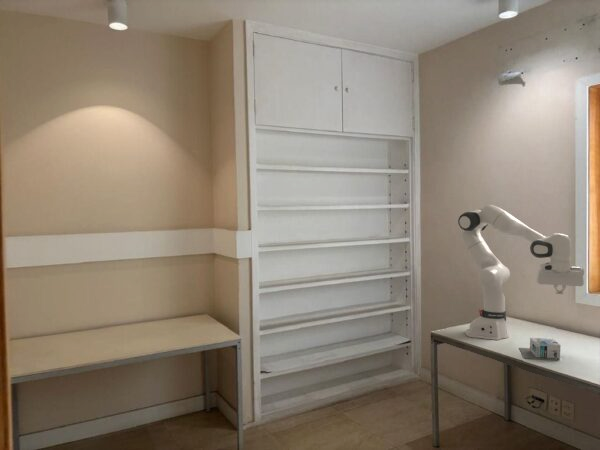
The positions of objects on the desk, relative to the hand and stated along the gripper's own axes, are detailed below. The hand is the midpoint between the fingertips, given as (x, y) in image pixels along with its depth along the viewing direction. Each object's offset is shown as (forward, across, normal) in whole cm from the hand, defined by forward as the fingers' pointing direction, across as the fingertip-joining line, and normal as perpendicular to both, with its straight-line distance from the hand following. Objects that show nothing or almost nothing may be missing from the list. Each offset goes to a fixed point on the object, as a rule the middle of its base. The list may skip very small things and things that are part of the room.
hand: (559, 293), depth 233 cm
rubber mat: (+28, +11, +10) cm, 32 cm away
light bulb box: (+25, +2, +10) cm, 27 cm away
